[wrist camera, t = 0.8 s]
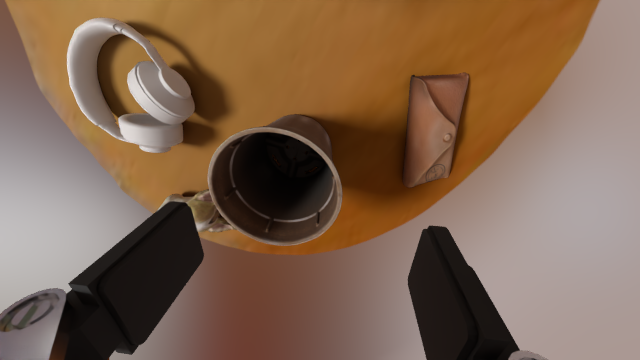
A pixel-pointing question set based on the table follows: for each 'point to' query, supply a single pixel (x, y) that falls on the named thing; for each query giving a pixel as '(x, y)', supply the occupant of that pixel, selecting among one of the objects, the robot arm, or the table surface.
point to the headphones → (144, 83)
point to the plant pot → (277, 181)
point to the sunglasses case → (432, 126)
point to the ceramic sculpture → (203, 211)
